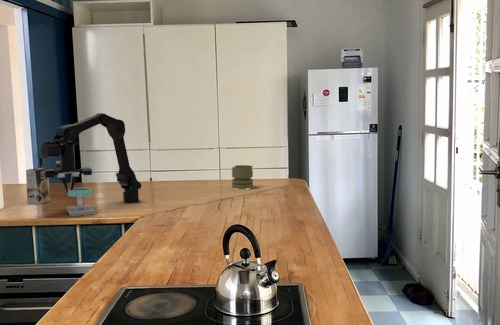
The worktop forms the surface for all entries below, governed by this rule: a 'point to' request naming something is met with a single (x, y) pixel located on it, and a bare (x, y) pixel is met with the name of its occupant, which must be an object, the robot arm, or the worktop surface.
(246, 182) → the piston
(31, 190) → the coffee box
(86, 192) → the teal ring
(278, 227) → the worktop surface
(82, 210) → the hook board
